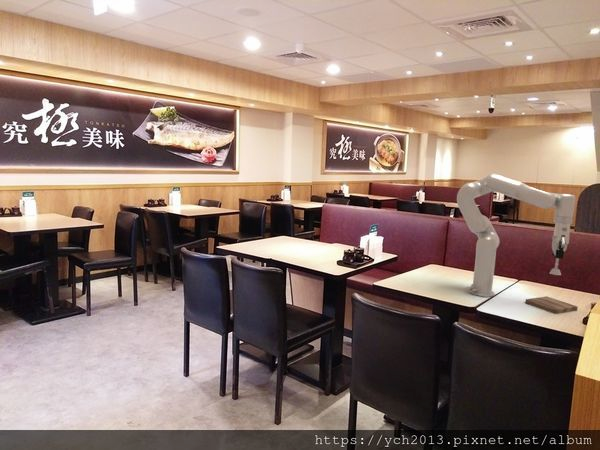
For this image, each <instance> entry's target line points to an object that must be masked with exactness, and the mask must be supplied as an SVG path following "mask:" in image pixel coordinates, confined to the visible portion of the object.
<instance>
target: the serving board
mask: <svg viewBox="0 0 600 450" xmlns="http://www.w3.org/2000/svg"><path fill="white" fill-rule="evenodd" d="M524 304H526V305H529V306H532V307H533V308H538V309H540V310H542V311H543V310H544V311H546V312H549V313H551V314H555V315H558V314H563V313H571V312H574V311H575V312H576V311H578V307H579V306H577V305H574V304H571V303H567V302H566V301H561V300H559V299H557V298H556V299H555V298H554V297H549V296H547V295H546V296H540V297H533V298H526V299H525V302H524Z"/></svg>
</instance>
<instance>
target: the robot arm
mask: <svg viewBox="0 0 600 450" xmlns="http://www.w3.org/2000/svg"><path fill="white" fill-rule="evenodd" d="M492 192H495V193H498V194H500V195H504V196H507V197H510V198H513V199H515V200H518V201H521V202H524V203H526V204H529V205H533V206H535V207H539V208H541V209H551V208H554V215H553V220H552V221H553V223H555V225H554V228H553V229H554V230H553V235H552V236H554V237H555V238H556V243H557V250H556V256H555V255H554V253H553V252H551V253H552V256H554V257H555V259H556V258H559V260H561V259H564V255H565V252H564V248H565V242H566V245H567V246H568V245H569V243H570V232H571V225H572V223H573V219H574V210H575V205H576V196H575V195H574V194H570V193H555V192H548V191H544V190H541V189H537V188H534V187H531V186H530V185H527V184H526V183H524V182H523V181H519V180H516V179H513V178H509V177H507V176H505V175H504V176H503V175H501V174H499V173H490V174H488V175H487V176H486V177H483V178H480V179H478V180H475V181H472V182H466V183H465V184H464V185H462V186H461V187H460V188H459V190H458V192H457V194H456V202H457V203H456V204H457V206H458V209H459V211H460V213H461V214H462V217H463V219H464V221H465V223H466V225H467V227H468V229H469V231H470V232H471V233H473V234H475V235H476V237H477V238H478V239H477V241H476V245H475V261H474V262H475V263H474V269H473V279H472V284H471V285H470V286H467V287H466V288H465V289H466V291H467V292H469V293H470V294H471V295H475V296H478V297H483V298H485V297H486V298H487V297H488V298H489V297H494V296H495V292H494V291H493V283H494V274H495V267H496V258H497V255H496V254H497V248H498V247H499V245H500V240H501V239H500V237H499V235H498V233H497V231H496V230H495V228H494V226H493V224H492V222H491V221H490V219H489V218H488V217H487V216H485V214H484V215H483V214H482V213H481V211H480V209H479V206H478V205H477V203H476V202H475V199H476V198H479V197H482V196H484V195H487V194H490V193H492ZM559 242H561V243H559ZM559 245H560V246H559Z"/></svg>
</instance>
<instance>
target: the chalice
mask: <svg viewBox="0 0 600 450" xmlns="http://www.w3.org/2000/svg"><path fill="white" fill-rule="evenodd" d="M551 238H552V243H551V250H552V253H554V255H555V256H556V250H557V243H556V238H555V237H554V236H553V235H552V236H551ZM559 243H561V242H559ZM559 246H560V245H559ZM567 248H568V245H566V242H565V248H564V253H565V252H566V251H567ZM554 255H553V256H554ZM555 256H554V257H555ZM559 261H560V258H555V263H554V267H553V268H552V269H551V270H550V271H549V274H550V275H554V276H562V273H561V270H560V269H559V267H558V266H559V265H560V264H559Z"/></svg>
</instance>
